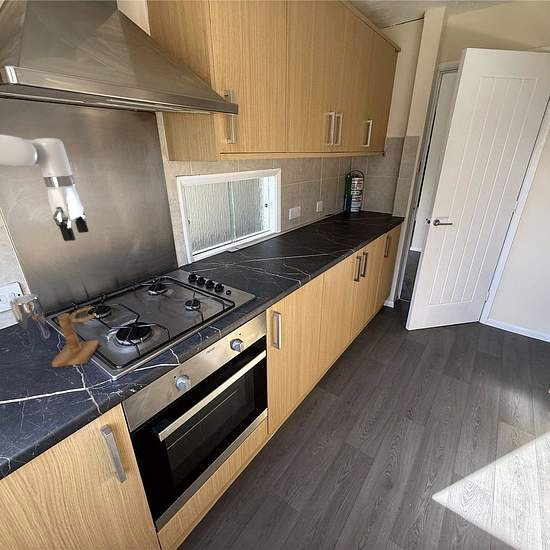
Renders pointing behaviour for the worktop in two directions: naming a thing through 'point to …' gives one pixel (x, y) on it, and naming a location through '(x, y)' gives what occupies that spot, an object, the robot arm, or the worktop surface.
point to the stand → (73, 345)
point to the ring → (81, 318)
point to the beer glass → (31, 317)
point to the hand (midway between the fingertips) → (77, 236)
